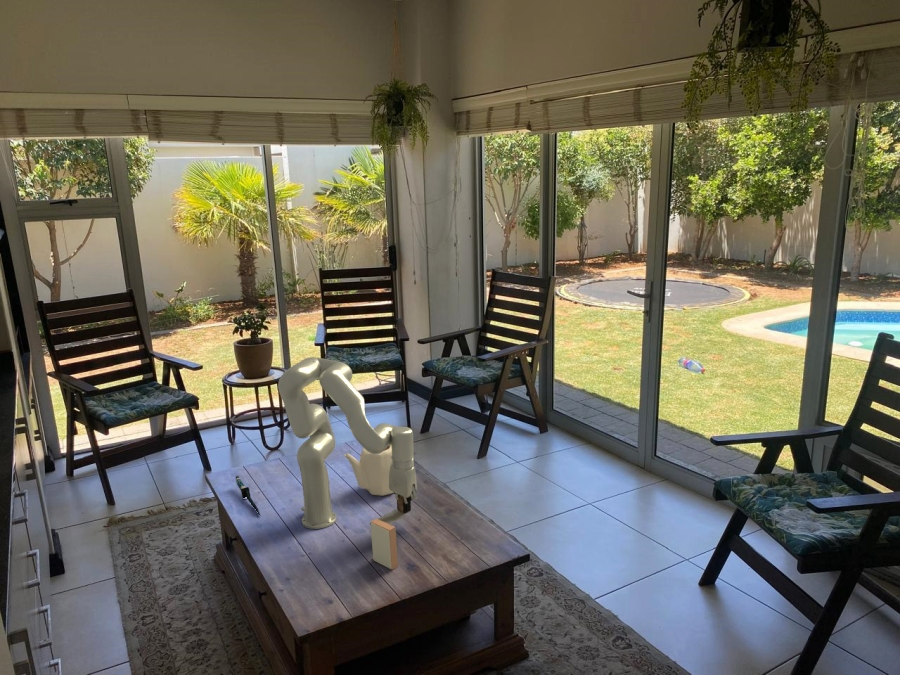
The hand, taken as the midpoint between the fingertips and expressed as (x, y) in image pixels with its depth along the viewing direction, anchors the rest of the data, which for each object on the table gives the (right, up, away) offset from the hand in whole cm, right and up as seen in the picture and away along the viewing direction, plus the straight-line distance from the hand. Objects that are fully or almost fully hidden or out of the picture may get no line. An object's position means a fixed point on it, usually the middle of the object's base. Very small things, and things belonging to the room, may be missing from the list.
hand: (404, 510), depth 238 cm
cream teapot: (-12, 0, +31) cm, 33 cm away
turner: (-4, -2, -4) cm, 6 cm away
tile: (-5, -12, -19) cm, 23 cm away
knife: (-63, -4, +27) cm, 68 cm away
